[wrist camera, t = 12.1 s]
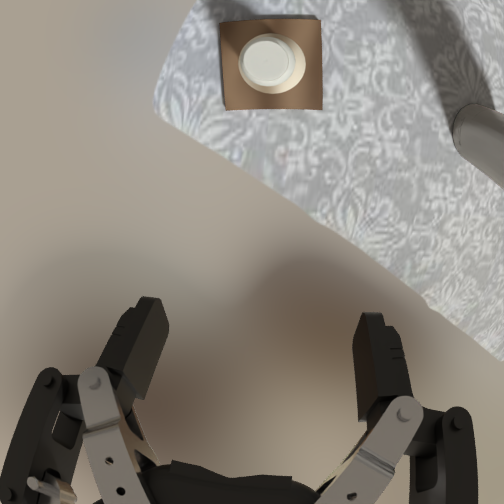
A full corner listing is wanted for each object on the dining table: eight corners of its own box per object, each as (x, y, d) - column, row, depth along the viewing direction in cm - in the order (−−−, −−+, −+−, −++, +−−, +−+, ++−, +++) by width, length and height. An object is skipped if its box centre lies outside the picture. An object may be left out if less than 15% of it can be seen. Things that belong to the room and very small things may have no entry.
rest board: (319, 21, 25) (320, 19, 25) (321, 109, 33) (322, 110, 32) (221, 23, 27) (219, 22, 26) (227, 109, 34) (225, 110, 33)
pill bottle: (253, 39, 27) (241, 28, 19) (298, 48, 27) (302, 40, 20) (245, 78, 30) (229, 82, 23) (288, 87, 31) (288, 94, 23)
